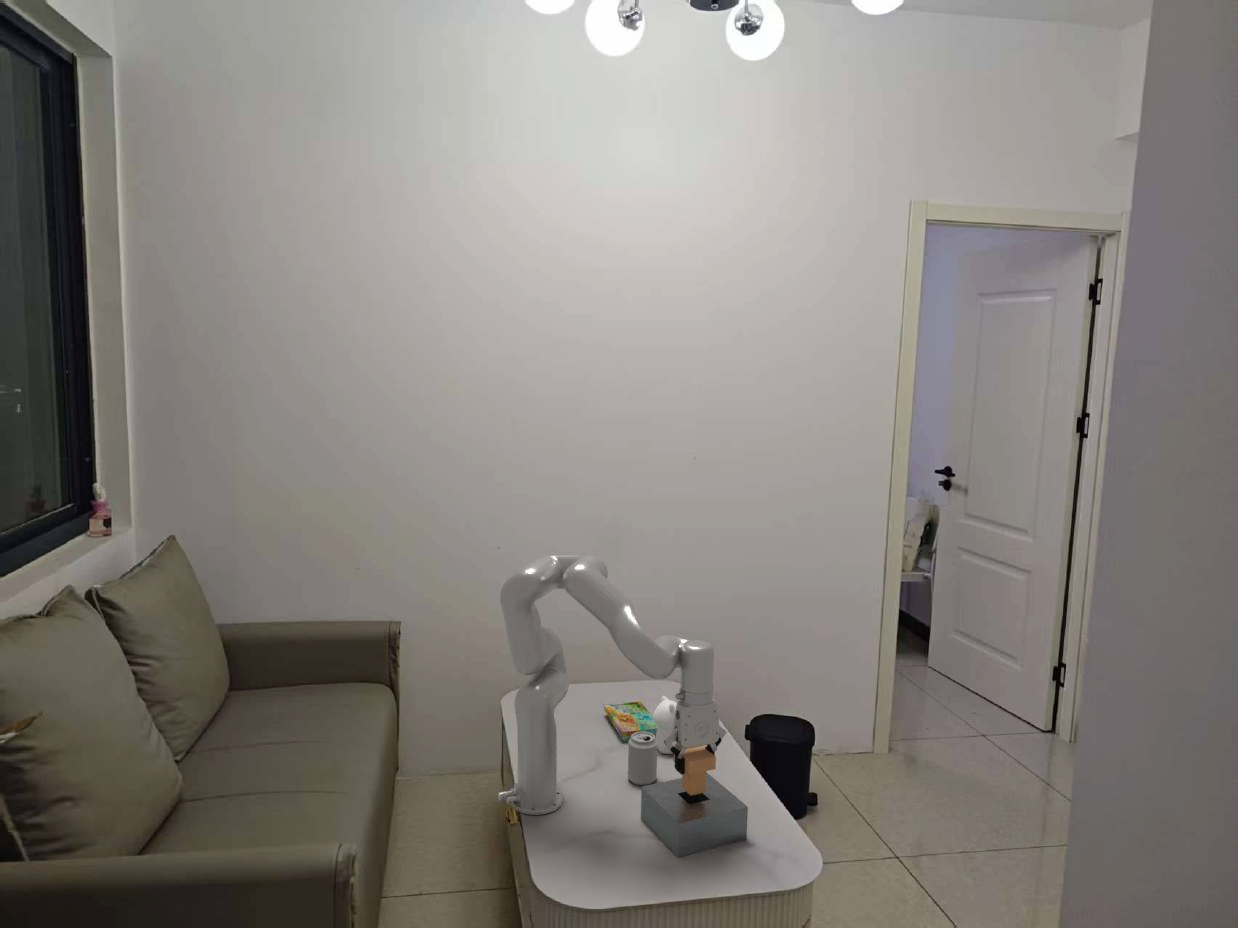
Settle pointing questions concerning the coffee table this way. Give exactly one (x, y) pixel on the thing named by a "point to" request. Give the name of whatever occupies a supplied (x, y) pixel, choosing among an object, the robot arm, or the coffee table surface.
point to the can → (642, 758)
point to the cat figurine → (664, 723)
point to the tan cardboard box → (697, 769)
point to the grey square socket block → (693, 816)
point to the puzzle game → (630, 719)
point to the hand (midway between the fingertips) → (694, 768)
